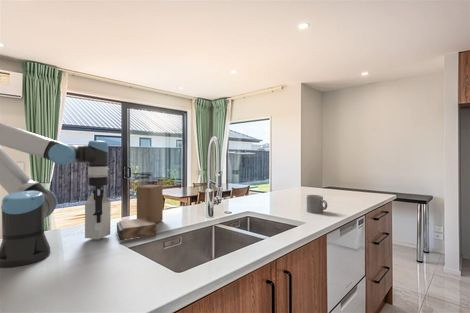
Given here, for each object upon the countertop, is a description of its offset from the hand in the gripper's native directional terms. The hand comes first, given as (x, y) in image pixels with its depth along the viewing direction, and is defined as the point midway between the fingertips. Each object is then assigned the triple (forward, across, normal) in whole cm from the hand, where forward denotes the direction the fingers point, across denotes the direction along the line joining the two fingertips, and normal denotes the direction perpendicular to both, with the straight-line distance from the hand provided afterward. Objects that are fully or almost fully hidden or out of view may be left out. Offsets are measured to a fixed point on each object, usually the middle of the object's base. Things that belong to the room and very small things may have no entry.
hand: (97, 226), depth 113 cm
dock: (+5, 0, -16) cm, 17 cm away
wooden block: (+5, +16, -25) cm, 30 cm away
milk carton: (+4, 0, 0) cm, 4 cm away
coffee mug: (+4, -12, -122) cm, 123 cm away
